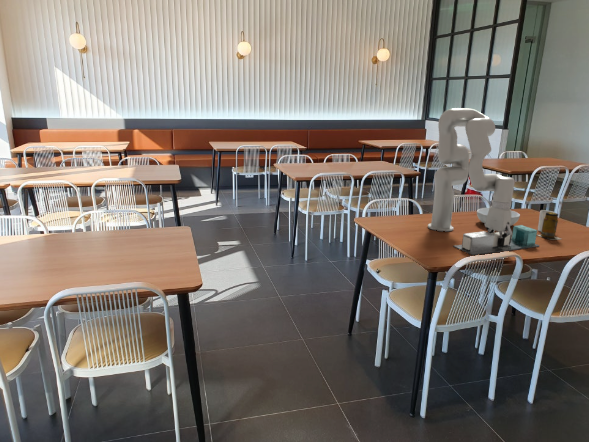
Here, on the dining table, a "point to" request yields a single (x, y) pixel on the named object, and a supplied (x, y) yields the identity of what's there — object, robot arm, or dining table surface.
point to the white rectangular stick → (496, 235)
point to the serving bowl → (484, 211)
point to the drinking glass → (542, 218)
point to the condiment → (549, 226)
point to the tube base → (484, 245)
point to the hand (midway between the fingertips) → (495, 243)
